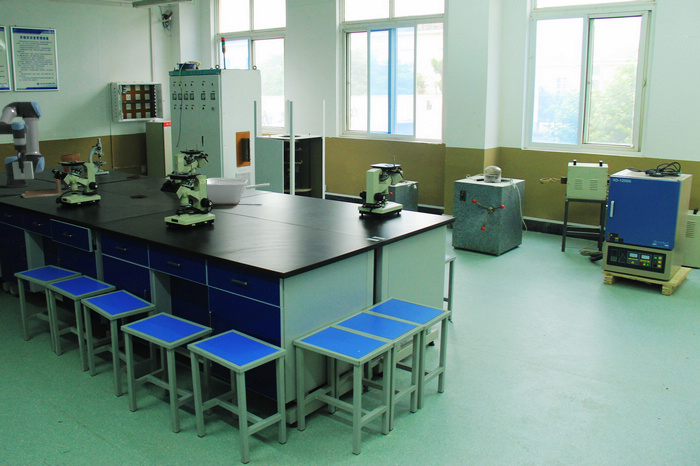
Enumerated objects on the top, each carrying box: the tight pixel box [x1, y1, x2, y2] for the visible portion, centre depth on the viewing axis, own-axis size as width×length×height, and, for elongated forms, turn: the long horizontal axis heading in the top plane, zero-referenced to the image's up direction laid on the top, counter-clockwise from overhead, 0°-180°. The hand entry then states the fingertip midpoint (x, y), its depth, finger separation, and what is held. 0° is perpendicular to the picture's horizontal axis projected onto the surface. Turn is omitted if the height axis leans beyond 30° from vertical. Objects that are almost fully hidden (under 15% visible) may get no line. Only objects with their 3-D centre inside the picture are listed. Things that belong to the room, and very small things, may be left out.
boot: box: [60, 152, 81, 190], centre depth 458 cm, size 25×9×27 cm, turn 134°
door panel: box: [12, 162, 35, 180], centre depth 427 cm, size 3×12×12 cm, turn 106°
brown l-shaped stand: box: [21, 169, 63, 199], centre depth 426 cm, size 12×24×17 cm, turn 126°
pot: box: [205, 177, 270, 205], centre depth 411 cm, size 29×44×15 cm, turn 92°
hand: (23, 177), depth 429 cm, fingers closed on door panel, 3 cm apart
